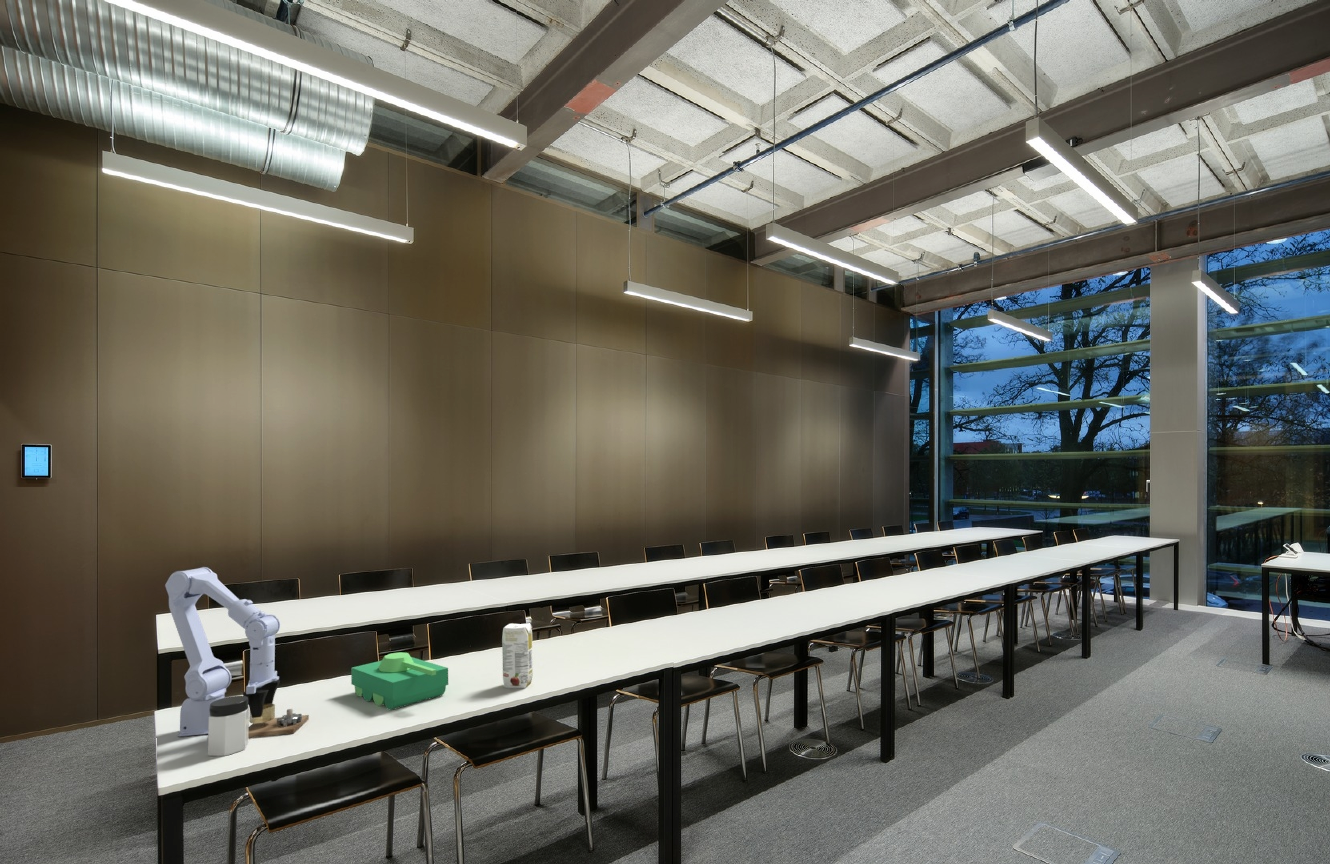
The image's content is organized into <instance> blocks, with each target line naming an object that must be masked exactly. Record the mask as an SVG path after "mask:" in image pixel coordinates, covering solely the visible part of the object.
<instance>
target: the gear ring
mask: <svg viewBox="0 0 1330 864" xmlns="http://www.w3.org/2000/svg"><path fill="white" fill-rule="evenodd" d="M275 709H276V704H275V703H266V704H264V706H263V713H262V716H261V717H256V718H252V715H251V712H250V711H249V724H250V723H251V724H256V723H264V722H267V721H271V720H272V719H273V718H276V716H275V715H276V714H275V713H276V712H275V711H276V710H275Z"/></svg>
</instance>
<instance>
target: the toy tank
mask: <svg viewBox="0 0 1330 864" xmlns="http://www.w3.org/2000/svg"><path fill="white" fill-rule="evenodd" d="M350 668H351V671H350V672H351V680H350V681H351V682H350V683H351V685H352V686H354V691H355V694H356V696H358V695H359V696H358V697H363V700H364V701H366V700H367V701H366V702H372V701H373V702H374V704H375V705H376V706H378V707H381V705H382V706H385V708H386V709H387V708H388V709H387V710H389V709H390V711H392V710H395V708H396V709H399V708H402V706H403V707H406V706H408V705H409V704H410V705H412V703H413V704H416V703H419V702H423V701H427V700H430V699H433V698H436V697H441V696H443V695H445V692H446V689H447V688H446V687H447V686H449V667H446V666H443V665H439V664H435V663H434V662H433V663H432V662H429V661H425V660H422V659H419V658H415V657H412V656H411V655H410V654H409V652H393V653H388V654H387V655H384V656H383V658H382V660H378V661H375V662H370V663H366V664H362V665H358V666H354V667H350ZM362 695H363V696H362ZM440 695H441V696H440ZM429 698H430V699H429ZM426 699H427V700H426Z"/></svg>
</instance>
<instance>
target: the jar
mask: <svg viewBox="0 0 1330 864" xmlns="http://www.w3.org/2000/svg"><path fill="white" fill-rule="evenodd" d="M209 711H210V716H209V728H208V734H207V735H208V737H207V739H208V741H207V749H208V750H207V756H208V757H210V756H211V757H226V756H229V755H232V754H235V753H239V752H243V751H245V750H246V748H247V746H248V745H249V738H248V732H249V726H250V725H249V724H250V722H249V717H250V708H249V705H248V697H247V696H243V695H233V696H227V697H226V696H225V697H224V698H222V699H219V700H216V701H214V702H212V703H211V704H210V709H209Z"/></svg>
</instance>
